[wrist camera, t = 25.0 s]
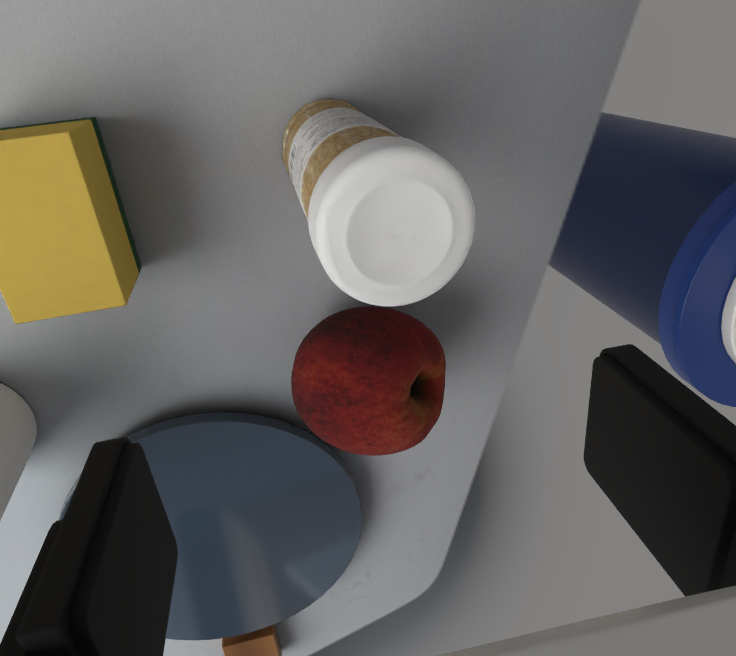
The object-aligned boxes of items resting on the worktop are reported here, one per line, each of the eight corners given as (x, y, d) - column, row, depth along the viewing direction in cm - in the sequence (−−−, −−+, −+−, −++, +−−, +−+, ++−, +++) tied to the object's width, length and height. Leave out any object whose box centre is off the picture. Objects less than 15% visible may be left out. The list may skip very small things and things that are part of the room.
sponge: (-14, 130, 24) (-64, 148, 20) (95, 116, 24) (69, 131, 20) (46, 283, 27) (15, 324, 23) (141, 267, 27) (126, 305, 24)
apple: (421, 387, 34) (469, 476, 27) (294, 411, 33) (311, 509, 26) (418, 275, 31) (472, 344, 24) (276, 296, 30) (289, 375, 23)
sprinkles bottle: (366, 200, 28) (458, 317, 17) (275, 189, 27) (305, 306, 15) (382, 104, 26) (499, 160, 15) (284, 87, 25) (328, 134, 14)
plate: (341, 378, 33) (345, 392, 31) (369, 583, 41) (374, 600, 40) (12, 443, 30) (2, 461, 29) (115, 647, 39) (111, 668, 37)
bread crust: (272, 616, 41) (273, 634, 39) (281, 650, 43) (283, 668, 41) (222, 629, 40) (221, 648, 39) (233, 663, 42) (233, 681, 41)
